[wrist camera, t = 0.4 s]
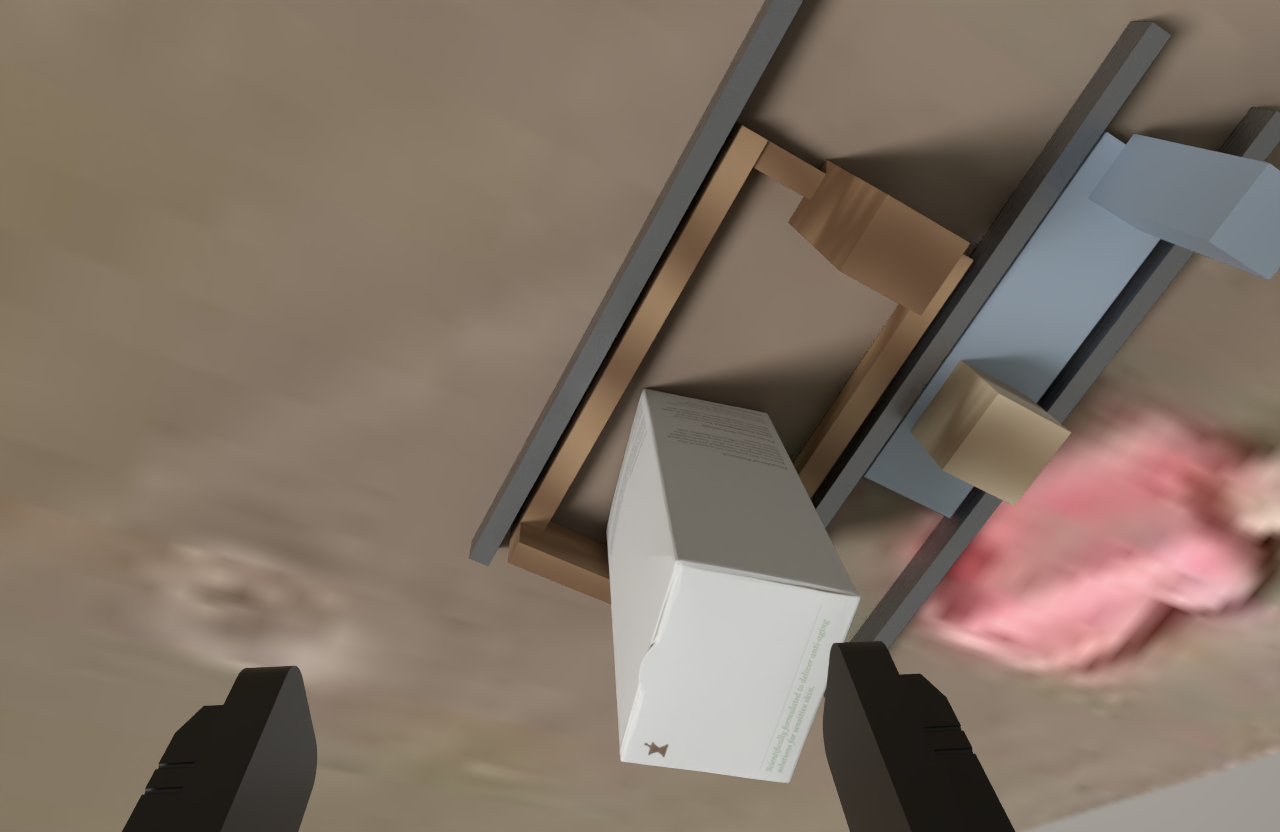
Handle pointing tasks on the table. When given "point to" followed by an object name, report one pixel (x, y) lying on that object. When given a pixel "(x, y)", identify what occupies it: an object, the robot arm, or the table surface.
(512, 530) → the walnut frame
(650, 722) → the skincare box
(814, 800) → the table surface
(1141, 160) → the pale blue bent piece
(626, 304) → the guide rails
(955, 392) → the beech cube
